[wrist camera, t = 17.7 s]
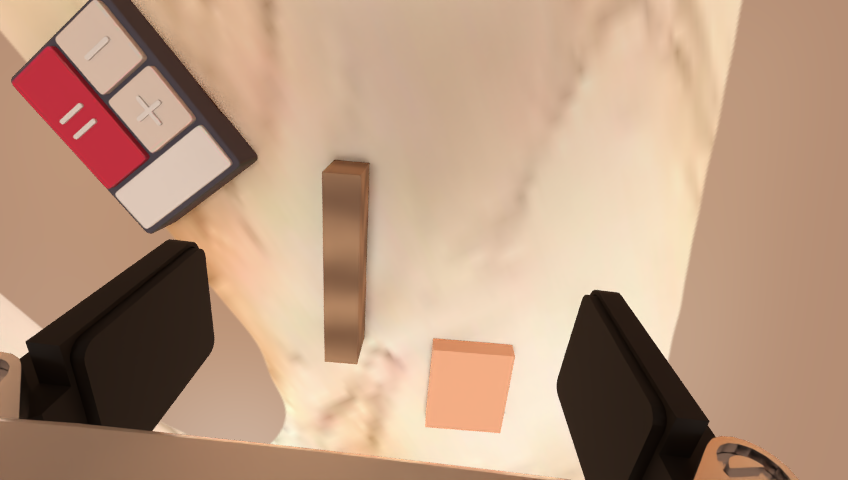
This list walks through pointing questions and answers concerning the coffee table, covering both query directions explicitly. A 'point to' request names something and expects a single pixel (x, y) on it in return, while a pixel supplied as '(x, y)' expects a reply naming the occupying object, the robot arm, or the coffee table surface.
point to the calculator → (133, 113)
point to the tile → (468, 385)
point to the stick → (344, 258)
